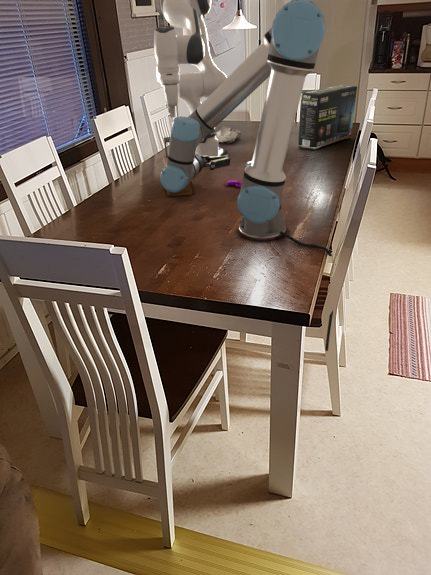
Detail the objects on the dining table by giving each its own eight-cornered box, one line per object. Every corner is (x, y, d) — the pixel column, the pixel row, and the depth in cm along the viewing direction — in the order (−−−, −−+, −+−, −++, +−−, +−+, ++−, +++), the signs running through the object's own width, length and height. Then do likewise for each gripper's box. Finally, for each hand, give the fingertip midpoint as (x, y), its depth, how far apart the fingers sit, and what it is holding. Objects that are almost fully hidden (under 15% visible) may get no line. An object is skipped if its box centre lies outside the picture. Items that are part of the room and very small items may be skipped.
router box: (314, 151, 231) (318, 94, 217) (296, 148, 237) (299, 92, 224) (352, 138, 251) (358, 85, 238) (335, 135, 258) (340, 83, 245)
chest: (165, 184, 195) (163, 158, 189) (188, 182, 196) (186, 156, 190) (168, 196, 182) (165, 169, 176) (192, 194, 183) (190, 166, 178)
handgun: (225, 184, 192) (225, 179, 191) (243, 182, 193) (243, 177, 192) (236, 200, 175) (236, 195, 174) (256, 198, 176) (256, 193, 175)
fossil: (231, 138, 245) (212, 120, 248) (221, 154, 251) (202, 137, 255) (247, 136, 258) (229, 120, 262) (237, 152, 265) (220, 136, 268)
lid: (162, 158, 190) (160, 136, 185) (186, 156, 191) (184, 134, 186) (165, 168, 176) (163, 145, 172) (190, 166, 177) (189, 143, 173)
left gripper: (158, 73, 180) (161, 110, 187) (161, 79, 163) (165, 120, 170) (174, 72, 181) (177, 109, 188) (179, 78, 164) (182, 119, 171)
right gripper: (148, 169, 143) (171, 152, 160) (225, 187, 139) (240, 168, 157) (150, 145, 139) (173, 131, 156) (229, 162, 135) (243, 146, 153)
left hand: (171, 114), depth 179 cm, fingers open, 8 cm apart
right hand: (206, 149), depth 157 cm, fingers open, 13 cm apart
